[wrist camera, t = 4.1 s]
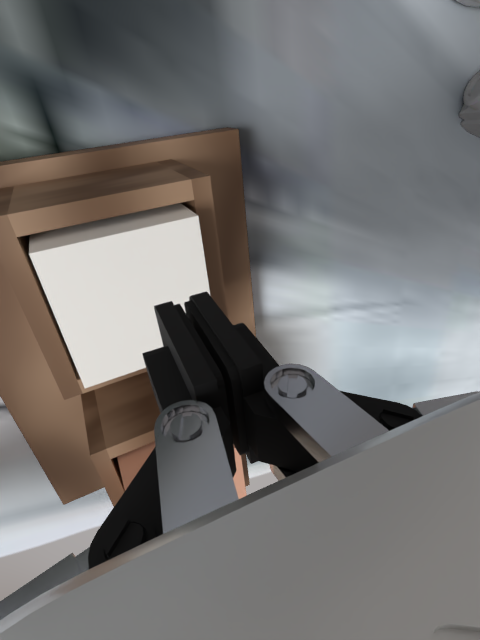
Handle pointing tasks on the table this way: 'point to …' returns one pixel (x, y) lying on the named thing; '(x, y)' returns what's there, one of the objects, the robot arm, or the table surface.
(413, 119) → the table surface
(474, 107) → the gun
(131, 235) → the white square block
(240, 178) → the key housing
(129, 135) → the table surface
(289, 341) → the table surface
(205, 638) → the robot arm
